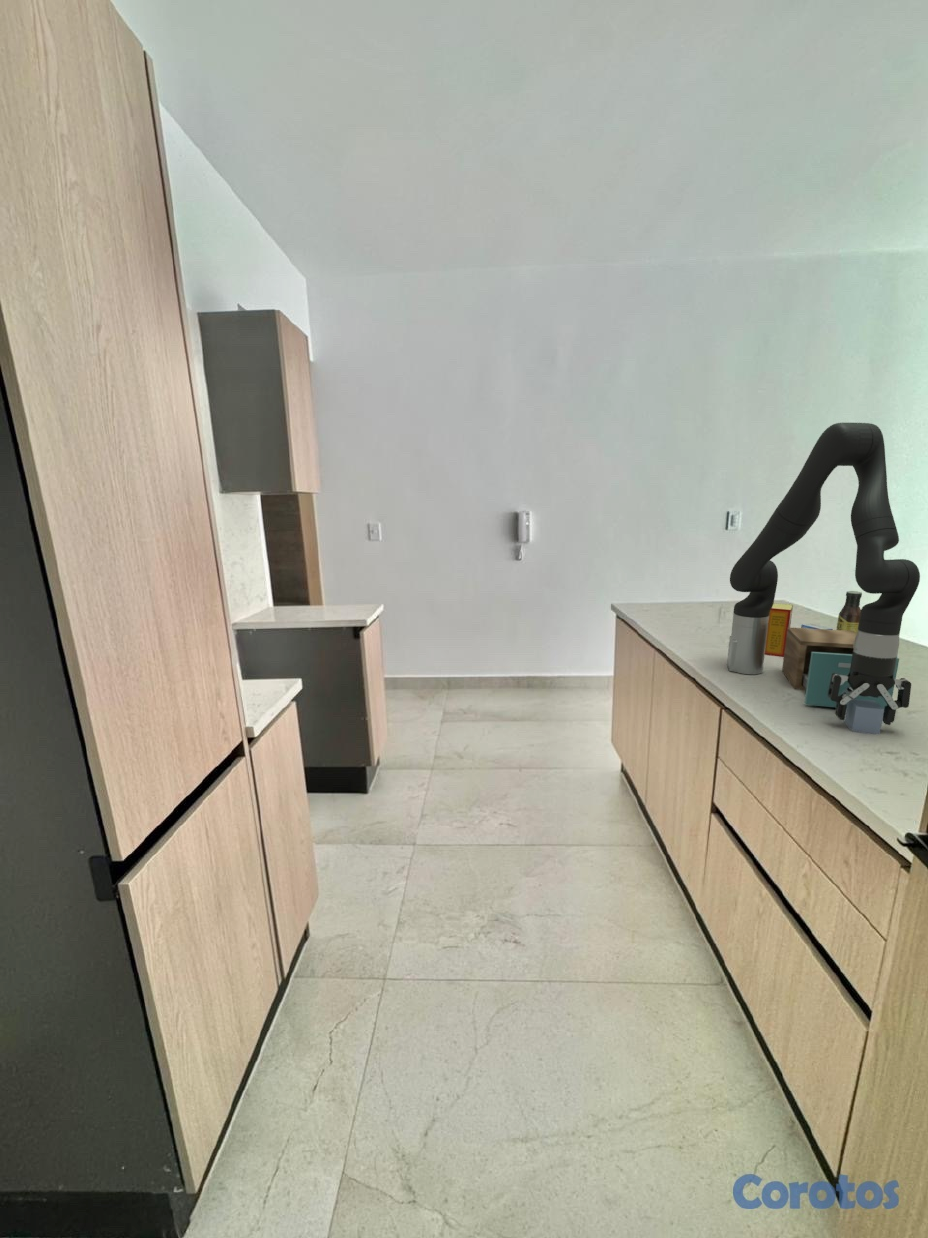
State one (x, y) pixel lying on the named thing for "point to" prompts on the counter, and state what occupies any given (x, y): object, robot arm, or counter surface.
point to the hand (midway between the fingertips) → (863, 721)
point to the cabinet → (812, 649)
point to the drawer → (821, 676)
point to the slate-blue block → (864, 716)
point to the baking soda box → (778, 629)
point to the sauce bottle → (850, 612)
